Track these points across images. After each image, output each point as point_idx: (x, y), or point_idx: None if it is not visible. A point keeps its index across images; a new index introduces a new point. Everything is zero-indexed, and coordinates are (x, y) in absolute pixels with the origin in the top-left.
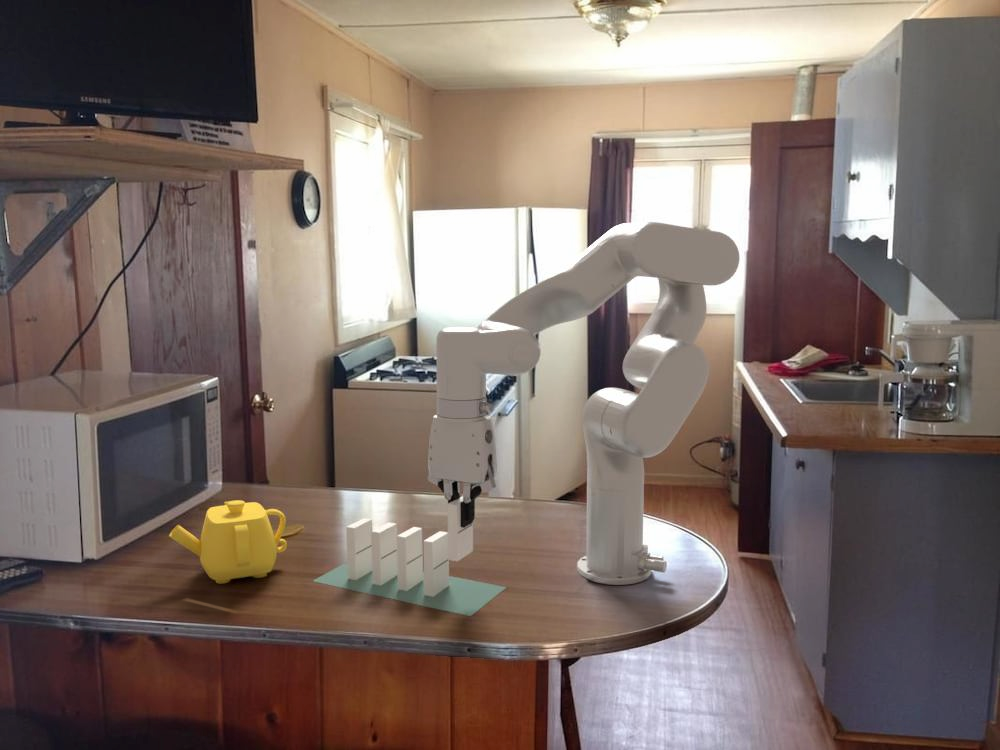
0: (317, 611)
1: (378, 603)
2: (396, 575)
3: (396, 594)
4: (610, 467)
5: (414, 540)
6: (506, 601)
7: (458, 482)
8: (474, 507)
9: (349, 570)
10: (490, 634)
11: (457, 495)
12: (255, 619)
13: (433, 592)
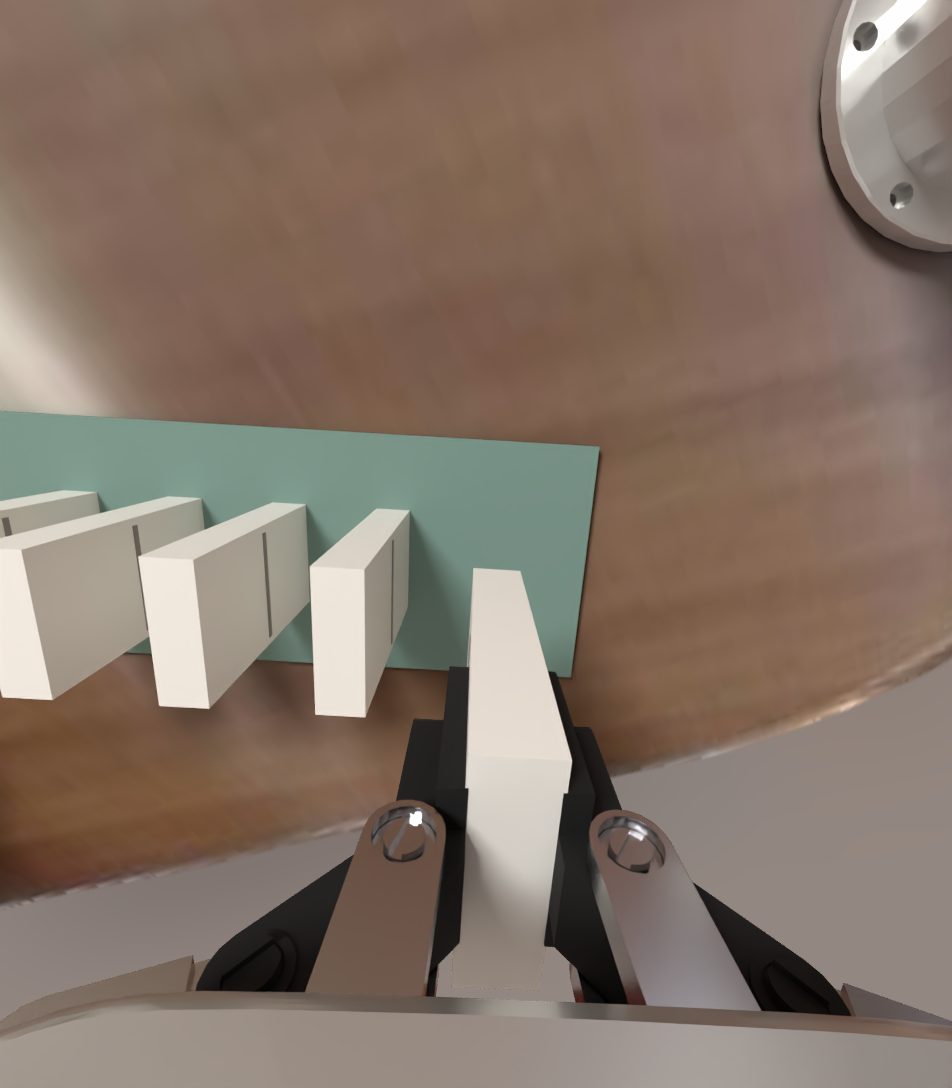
0: (172, 776)
1: (281, 682)
2: (201, 506)
3: (297, 633)
4: None
5: (225, 616)
6: (627, 531)
7: (424, 975)
8: (611, 786)
9: None
10: (653, 729)
11: (461, 890)
12: (78, 856)
13: (405, 609)
